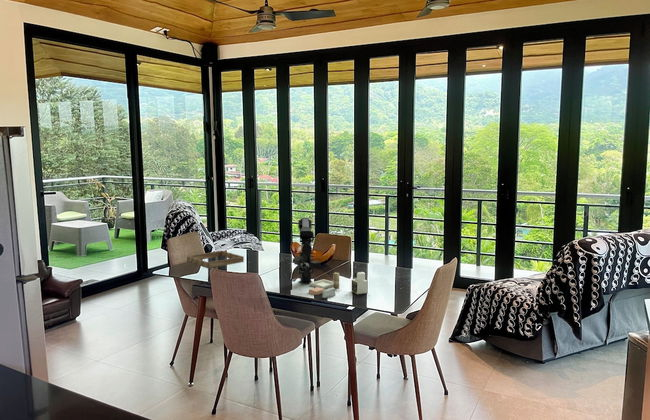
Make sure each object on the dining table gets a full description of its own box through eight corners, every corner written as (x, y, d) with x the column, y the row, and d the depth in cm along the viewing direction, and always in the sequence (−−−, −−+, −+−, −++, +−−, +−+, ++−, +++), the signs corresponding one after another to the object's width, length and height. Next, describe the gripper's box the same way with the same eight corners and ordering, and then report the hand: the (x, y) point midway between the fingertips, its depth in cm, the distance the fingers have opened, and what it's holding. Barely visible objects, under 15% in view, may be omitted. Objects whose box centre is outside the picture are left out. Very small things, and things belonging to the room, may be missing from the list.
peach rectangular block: (308, 293, 286) (308, 289, 286) (317, 291, 291) (317, 287, 291) (316, 295, 282) (316, 291, 282) (324, 293, 287) (324, 289, 287)
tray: (309, 285, 301) (309, 282, 301) (323, 282, 309) (323, 279, 309) (323, 289, 293) (323, 286, 293) (337, 285, 301) (337, 282, 301)
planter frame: (187, 261, 365) (186, 256, 364) (221, 255, 385) (221, 250, 384) (208, 268, 344) (208, 262, 343) (243, 261, 364) (243, 256, 364)
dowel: (332, 288, 296) (332, 273, 295) (336, 287, 299) (336, 272, 297) (336, 289, 294) (336, 274, 293) (340, 288, 296) (340, 273, 295)
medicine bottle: (351, 291, 290) (351, 271, 289) (362, 289, 293) (362, 269, 291) (356, 294, 284) (357, 273, 282) (367, 292, 286) (368, 272, 285)
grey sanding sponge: (322, 297, 277) (322, 290, 277) (332, 294, 283) (332, 287, 282) (325, 298, 276) (325, 291, 275) (335, 295, 281) (335, 288, 281)
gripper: (285, 250, 291) (285, 276, 293) (306, 255, 278) (306, 282, 280) (299, 247, 299) (299, 272, 301) (321, 252, 286) (321, 278, 288)
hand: (306, 276), depth 292 cm, fingers closed
